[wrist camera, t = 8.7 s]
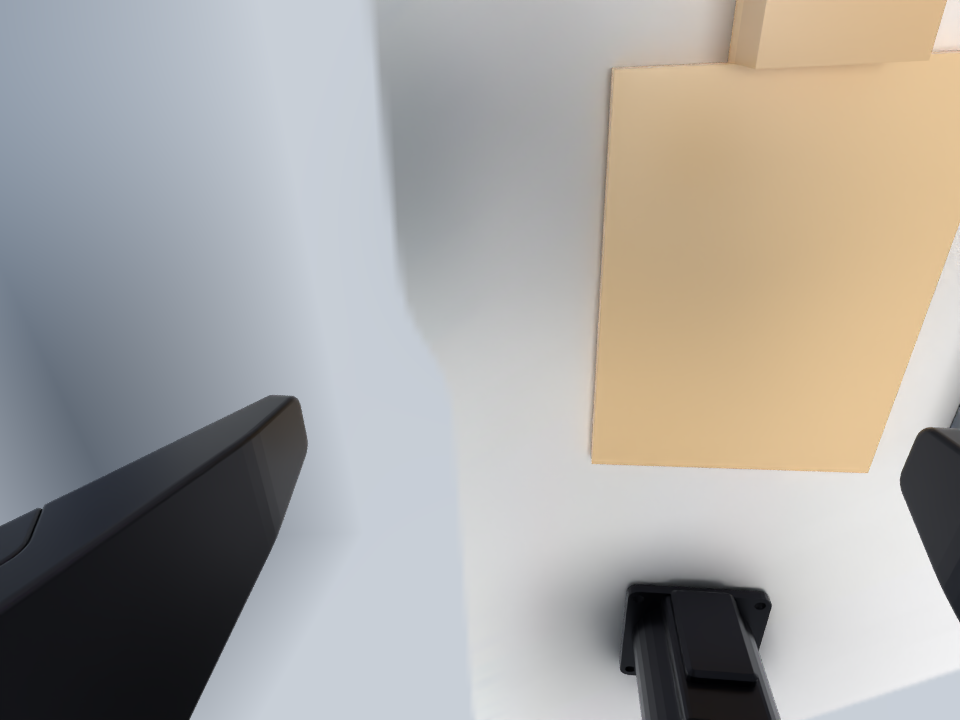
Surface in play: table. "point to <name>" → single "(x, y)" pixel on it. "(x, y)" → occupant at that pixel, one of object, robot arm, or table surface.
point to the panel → (956, 420)
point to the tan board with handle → (775, 237)
